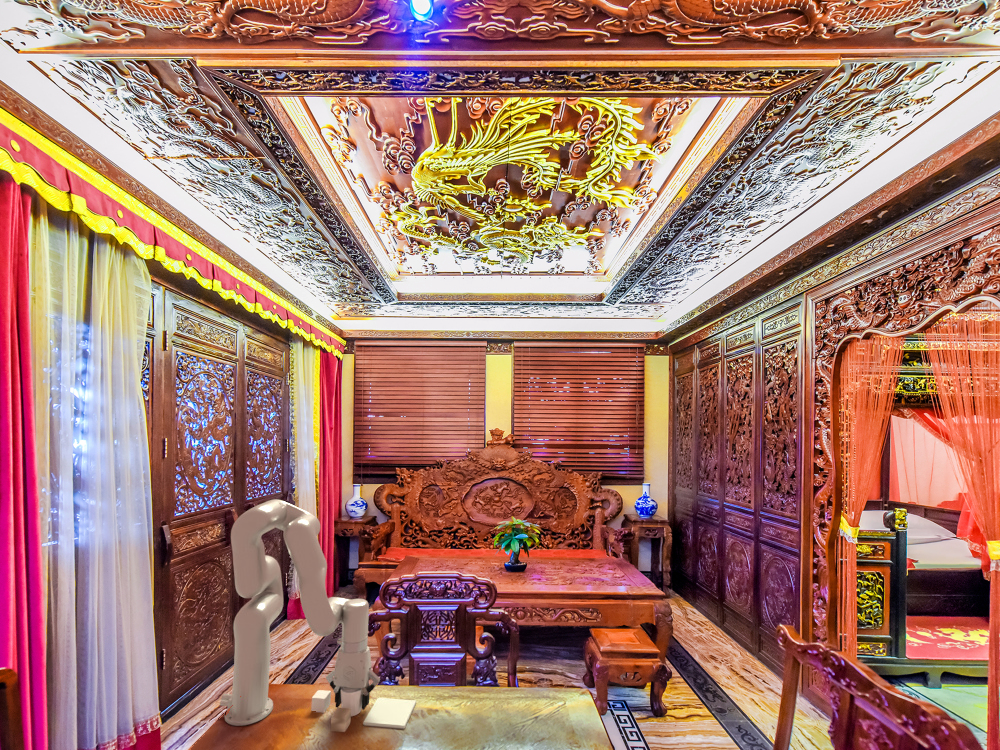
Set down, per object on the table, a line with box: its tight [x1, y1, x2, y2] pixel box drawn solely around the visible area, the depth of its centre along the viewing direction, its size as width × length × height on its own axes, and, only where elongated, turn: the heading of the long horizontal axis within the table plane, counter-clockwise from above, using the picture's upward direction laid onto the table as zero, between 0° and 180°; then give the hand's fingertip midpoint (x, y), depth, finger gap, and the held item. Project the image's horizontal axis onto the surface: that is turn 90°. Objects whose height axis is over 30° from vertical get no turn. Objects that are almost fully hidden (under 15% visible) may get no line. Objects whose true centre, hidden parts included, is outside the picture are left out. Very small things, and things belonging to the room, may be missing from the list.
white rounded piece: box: [340, 687, 364, 717], centre depth 142 cm, size 7×7×7 cm
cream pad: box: [362, 697, 417, 730], centre depth 141 cm, size 12×12×1 cm
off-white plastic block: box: [310, 689, 332, 714], centre depth 143 cm, size 4×4×4 cm
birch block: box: [330, 706, 352, 733], centre depth 135 cm, size 4×4×4 cm
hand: (351, 705), depth 142 cm, fingers open, 7 cm apart
